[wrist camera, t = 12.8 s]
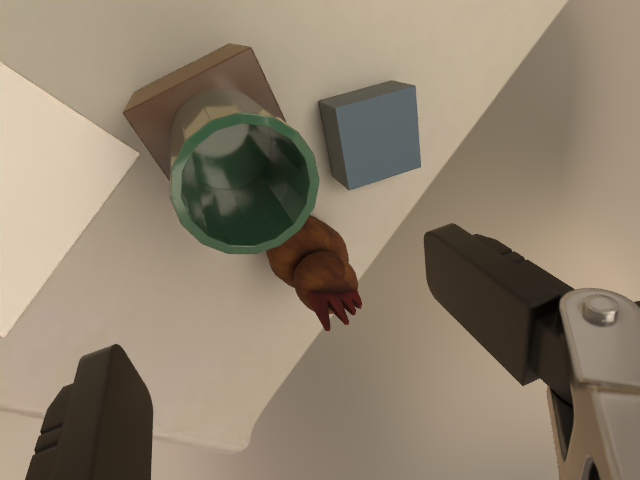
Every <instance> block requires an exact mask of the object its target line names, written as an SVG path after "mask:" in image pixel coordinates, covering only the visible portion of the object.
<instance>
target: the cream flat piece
mask: <svg viewBox="0 0 640 480" xmlns="http://www.w3.org/2000/svg"><path fill="white" fill-rule="evenodd" d="M139 155H140V153H138V152H137V151H135V150H134V149H132V148H130V147H129V146H127V145H126V144H124V143H123V142H121V141H120V140H118V139H117V138H115V137H114V136H112V135H111V134H109V133H108V132H106V131H105V130H103V129H101V128H100V127H98V126H97V125H95V124H94V123H92V122H91V121H89V120H88V119H86V118H85V117H83V116H82V115H80V114H79V113H77V112H76V111H74V110H72V109H71V108H69V107H68V106H66V105H65V104H63V103H62V102H60V101H59V100H57V99H56V98H54V97H53V96H51V95H50V94H48V93H46V92H45V91H43V90H42V89H40V88H39V87H37V86H36V85H34V84H33V83H31V82H30V81H28V80H27V79H25V78H24V77H22V76H21V75H19V74H17V73H16V72H14V71H13V70H11V69H10V68H8V67H7V66H5V65H4V64H2V63H1V62H0V337H3V338H4V337H5V336H6V335H7V333H8V332H9V331H10V329H11V328H12V327H13V325H14V324H15V322H16V321H17V320H18V318H19V317H20V316H21V314H22V313H23V312H24V310H25V309H26V308H27V306H28V305H29V304H30V302H31V301H32V299H33V298H34V297H35V295H36V294H37V293H38V291H39V290H40V289H41V287H42V286H43V285H44V283H45V282H46V281H47V279H48V278H49V276H50V275H51V274H52V272H53V271H54V270H55V268H56V267H57V266H58V264H59V263H60V262H61V260H62V259H63V258H64V256H65V255H66V253H67V252H68V251H69V249H70V248H71V247H72V245H73V244H74V243H75V241H76V240H77V239H78V237H79V236H80V235H81V233H82V232H83V230H84V229H85V228H86V226H87V225H88V224H89V222H90V221H91V220H92V218H93V217H94V216H95V214H96V213H97V212H98V210H99V209H100V207H101V206H102V205H103V203H104V202H105V201H106V199H107V198H108V197H109V195H110V194H111V193H112V191H113V190H114V189H115V187H116V186H117V184H118V183H119V182H120V180H121V179H122V178H123V176H124V175H125V174H126V172H127V171H128V170H129V168H130V167H131V166H132V164H133V163H134V161H135V160H136V159H137V157H138V156H139Z"/></svg>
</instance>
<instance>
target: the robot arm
mask: <svg viewBox="0 0 640 480" xmlns="http://www.w3.org/2000/svg"><path fill="white" fill-rule="evenodd" d="M424 249H425V264H426V278H427V283H428V286H429V289H430V291H431V293H432V295H433V296H434V298H435V299H436V300H437V301H438V302H439V303H440V304H441V305H442V306H443V307H444V308H445V309H446V310H447V311H448V312H449V313H450V314H451V315H452V316H453V317H454V318H455V319H456V320H457V321H458V322H459V323H460V324H461V325H462V326H463V327H464V328H465V329H466V330H467V331H468V332H469V333H470V334H471V335H472V336H473V337H474V338H475V339H476V340H477V341H478V342H479V343H480V344H481V345H482V346H483V347H484V348H485V349H486V350H487V351H488V352H489V353H490V354H491V355H492V356H493V357H494V358H495V359H496V360H497V361H498V362H499V363H500V364H502V366H503V367H504V368H505V369H506V370H507V371H508V372H509V373H510V374H511V375H512V376H513V377H514V378H515V379H516V380H517V381H518V382H519V383H520V384H521V385H522V386H524V385H526V384H529V383H531V382H533V381H535V380H537V379H539V378H541V379H542V380H543V381H544V382H545V383H546V384H547V385H548V387H547V399H548V406H549V412H550V417H551V425H552V430H553V437H554V444H555V450H556V456H557V463H558V469H559V480H640V301H637V302H633V301H632V300H630V299H628V298H627V297H625V296H623V295H620V294H618V293H615V292H612V291H608V290H603V289H598V288H597V289H596V288H582V289H576V290H575V289H573V288H572V287H570V286H568V285H567V284H565V283H564V282H562V281H561V280H559V279H558V278H556V277H554V276H553V275H551V274H550V273H548V272H546V271H545V270H543V269H542V268H540V267H539V266H537V265H535V264H534V263H532V262H530V261H529V260H525V259H524V257H523V256H521V255H520V254H518V253H516V252H512V250H511V249H510V248H508V247H507V246H505V245H504V244H502V243H500V242H499V241H497V240H495V239H492V238H489V237H485V236H482V235H479V234H475V235H471V234H470V233H468V232H467V231H465V230H464V229H462V228H461V227H459V226H457V225H456V224H453V223H451V224H448V225H445V226H442V227H440V228H437V229H434V230H432V231H429V232H426V233H425V235H424ZM152 430H153V405H152V400H151V397H150V393H149V391H148V389H147V387H146V385H145V383H144V382H143V380H142V378H141V377H140V375H139V374H138V372H137V370H136V369H135V367H134V366H133V364H132V362H131V361H130V359H129V358H128V356H127V354H126V353H125V351H124V350H123V348H122V347H121V346H120V345H118V344H115V345H112V346H109V347H107V348H104V349H101V350H98V351H96V352H93V353H90V354H87V355H84V356H82V357H81V359H80V361H79V364H78V368H77V372H76V375H75V379H74V383H73V384H70V385H67V386H65V387H63V388H62V389H61V391H60V392H59V394H58V395H57V396H56V398H55V399H54V401H53V402H52V403H51V405H50V406H49V408H48V409H47V412H46V415H45V418H44V421H43V425H42V428H41V431H40V432H41V435H40V436H39V437H38V440H37V443H36V447H35V450H34V451H35V455H33V456H32V459H31V462H30V466H29V469H28V472H27V475H26V479H25V480H151V459H152V458H151V457H152Z"/></svg>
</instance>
